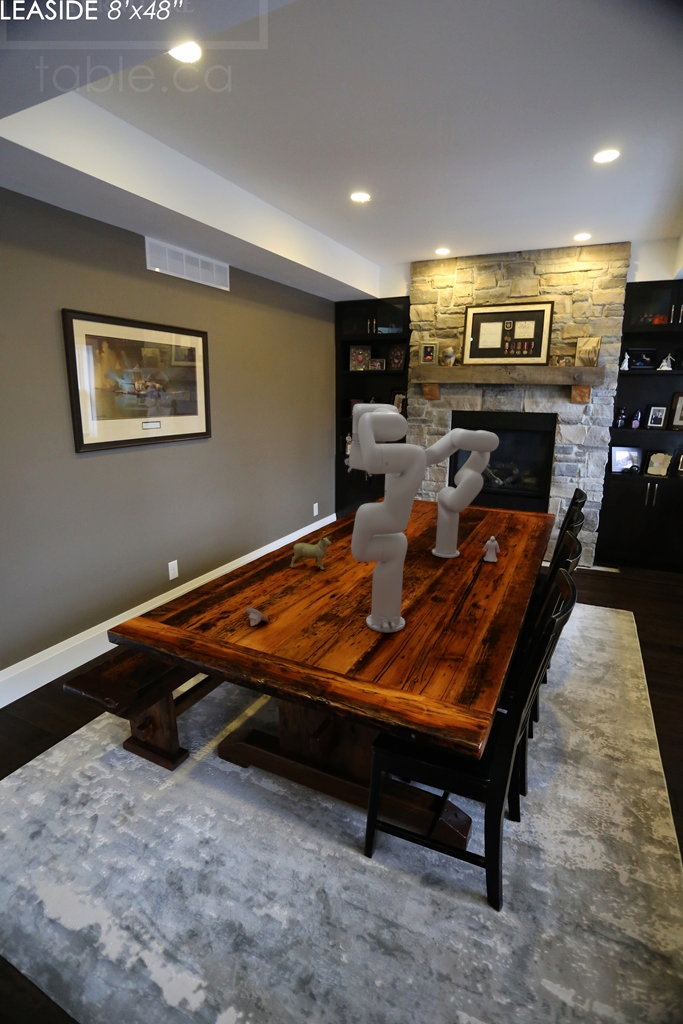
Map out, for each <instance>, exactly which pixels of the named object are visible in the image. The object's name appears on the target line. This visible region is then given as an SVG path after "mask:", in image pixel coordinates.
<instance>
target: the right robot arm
mask: <svg viewBox="0 0 683 1024" xmlns="http://www.w3.org/2000/svg"><path fill="white" fill-rule="evenodd" d="M499 444H500V439H499V436H498V435H497V434H496V433H494V432H490V431H487V430H482V429H479V430H471V429H470V430H469V429H464V428H459V427H457V428H453V429H452V430H449V432H447V433H446V434H444V436H442V437H441V438H440V439H439V440H437V441H436V442H435V443H433V444H432V445H431V446H429V447H427V448H425V449H423V450H424V451H425V454H426V459H427V466H426V468H427V467H429V466H432V465H437V464H440V463H443V462H444V461H445V460H447V459H448V458H449V457H451V456H452V455H453V454H454V453H456V452H457V451H458V450H463V451H468V452H469V451H471V453H470V456H469V458H468V459H467V460H466V462H465V463H464V464H463V465H462V466H461V468H460V469H459V470H458V471H457V472H456V473H455V475H454V479H453V480H454V484H455V485H456V486H457V487H456V488H455V487H453V486H444V487H442V488H441V489H440V490H439V492H438V494H437V500H436V501H437V521H436V522H437V524H436V534H435V535H436V537H435V547H434V548H432V549H431V554H432V555H433V556H436V557H439V558H443V559H453V558H458V557H459V556H460V551H459V550H457V548H458V547H457V546H458V536H459V535H458V534H459V522H460V513H461V512H463V511H465V509H467V508H468V507H469V505H471V503H472V502H473V501H474V499H475V498H476V497H477V496H478V495H479V493H480V492H481V490H482V489H483V486H484V478H483V476H482V473H483V472H484V470H485V469H486V468H487V466H488V464H489V463H490V458H491V452H494V451H495V450H496V449H497V448H498V446H499ZM400 474H401V473H393V474H385V476H384V477H385V478H384V479H385V480H384V494H385V493H386V490H387V488H388V487H389V485H390V484H391V483H392V482H393V481H394V480H395V479H396V478H397V477H399V476H400Z"/></svg>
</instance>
